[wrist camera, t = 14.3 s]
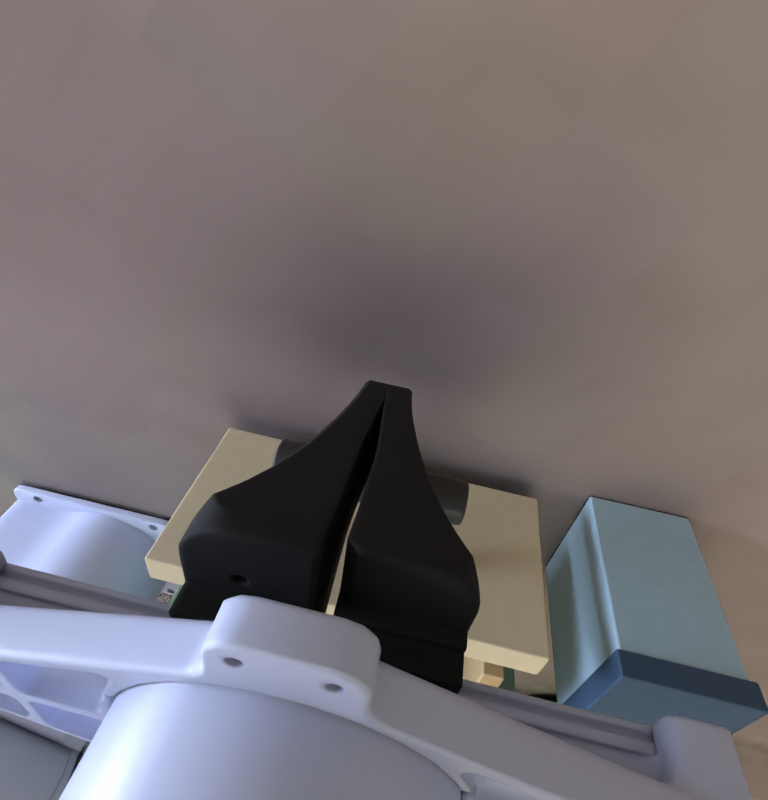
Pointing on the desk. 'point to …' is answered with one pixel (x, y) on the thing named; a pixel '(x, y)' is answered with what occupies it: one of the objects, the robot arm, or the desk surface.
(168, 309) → the desk surface
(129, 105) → the desk surface
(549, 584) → the container
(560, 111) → the desk surface
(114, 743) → the robot arm
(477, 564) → the drawer
